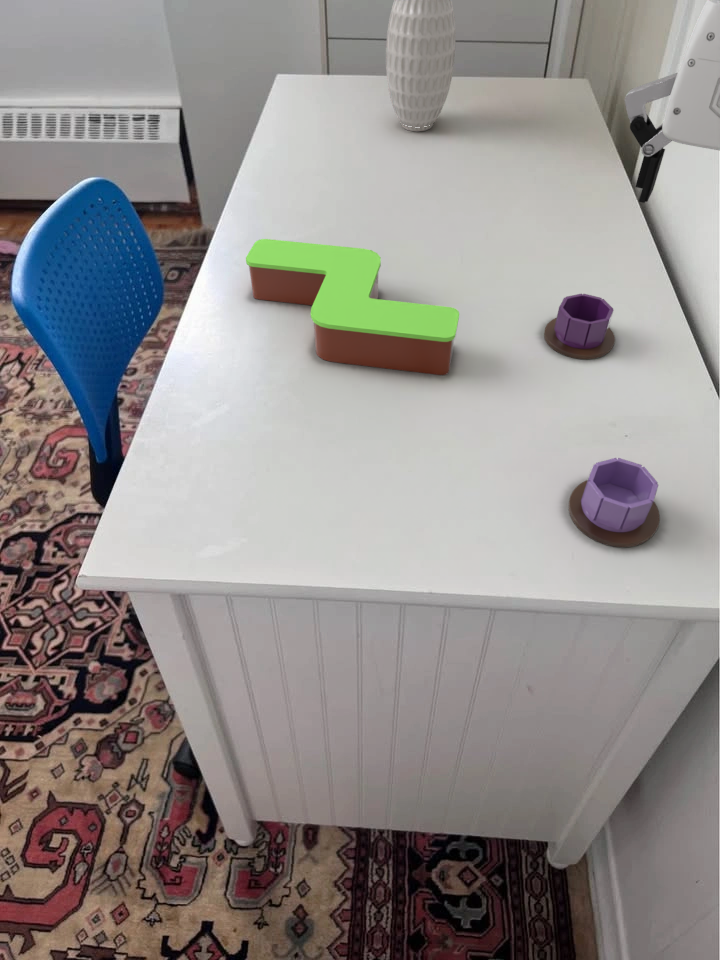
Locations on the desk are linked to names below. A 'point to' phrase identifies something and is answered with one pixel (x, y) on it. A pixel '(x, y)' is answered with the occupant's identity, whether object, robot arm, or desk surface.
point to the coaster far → (576, 352)
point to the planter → (353, 307)
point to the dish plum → (583, 321)
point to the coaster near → (609, 537)
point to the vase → (420, 59)
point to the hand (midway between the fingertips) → (700, 207)
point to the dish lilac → (618, 495)
